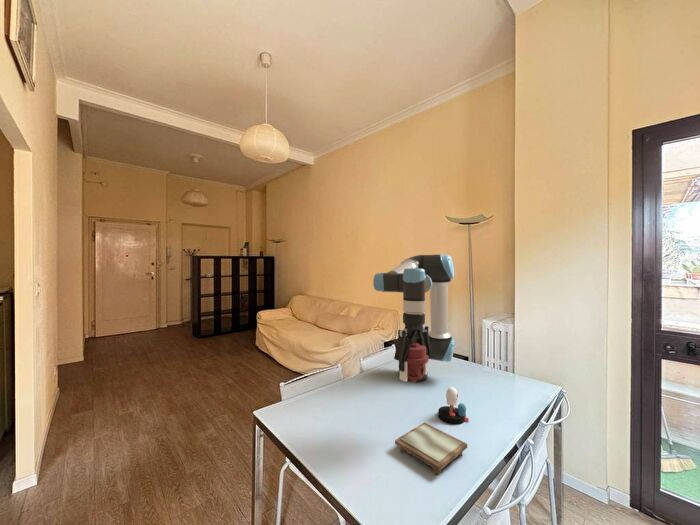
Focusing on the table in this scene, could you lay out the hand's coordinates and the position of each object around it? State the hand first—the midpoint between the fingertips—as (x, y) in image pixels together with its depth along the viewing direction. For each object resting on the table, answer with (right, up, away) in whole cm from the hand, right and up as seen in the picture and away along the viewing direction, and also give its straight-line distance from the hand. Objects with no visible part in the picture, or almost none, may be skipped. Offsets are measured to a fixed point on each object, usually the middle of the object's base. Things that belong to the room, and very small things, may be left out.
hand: (413, 376), depth 100 cm
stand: (+4, -21, -8) cm, 23 cm away
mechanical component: (0, -1, 0) cm, 1 cm away
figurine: (+18, -21, +12) cm, 30 cm away
